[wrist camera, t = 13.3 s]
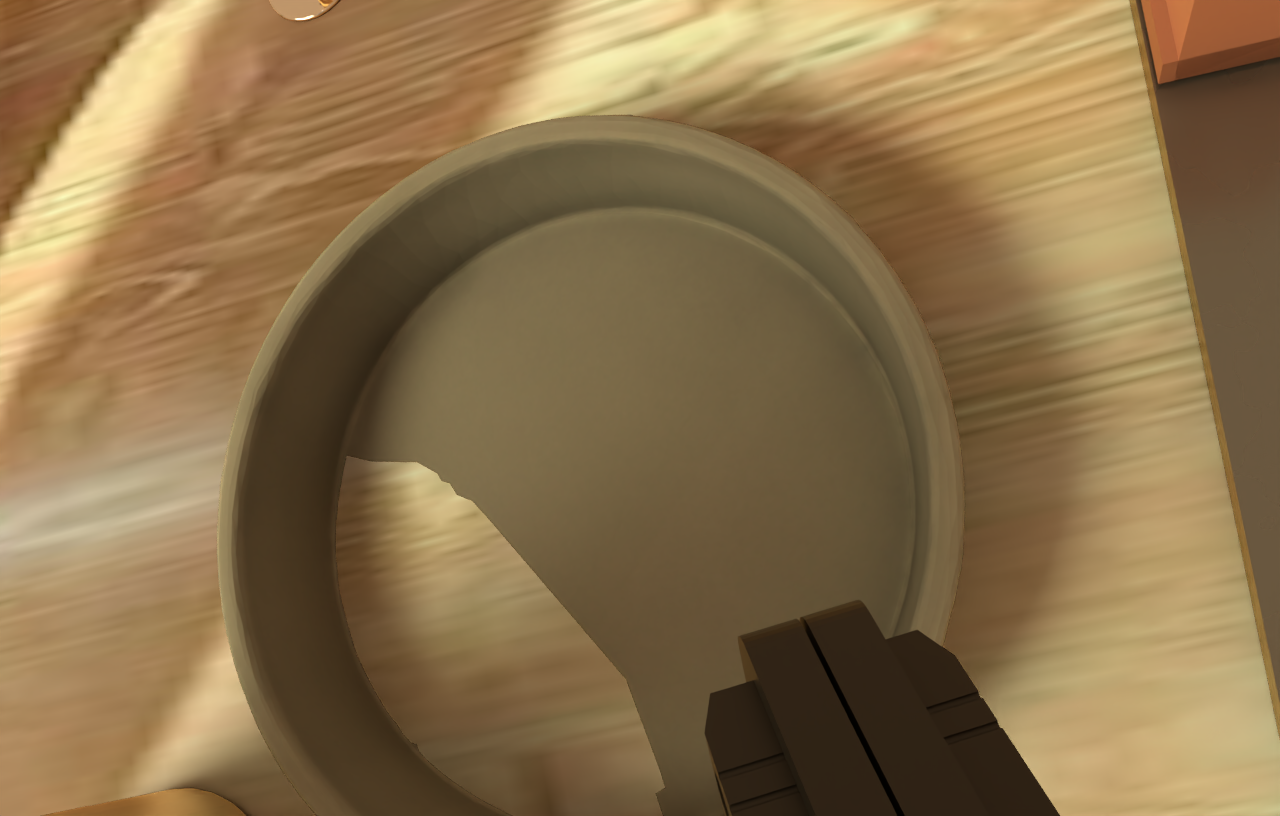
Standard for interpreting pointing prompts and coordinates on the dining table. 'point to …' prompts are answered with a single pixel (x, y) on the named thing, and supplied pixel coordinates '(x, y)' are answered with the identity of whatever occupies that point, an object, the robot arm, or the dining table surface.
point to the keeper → (1210, 35)
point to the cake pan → (592, 432)
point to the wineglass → (301, 8)
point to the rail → (1233, 289)
